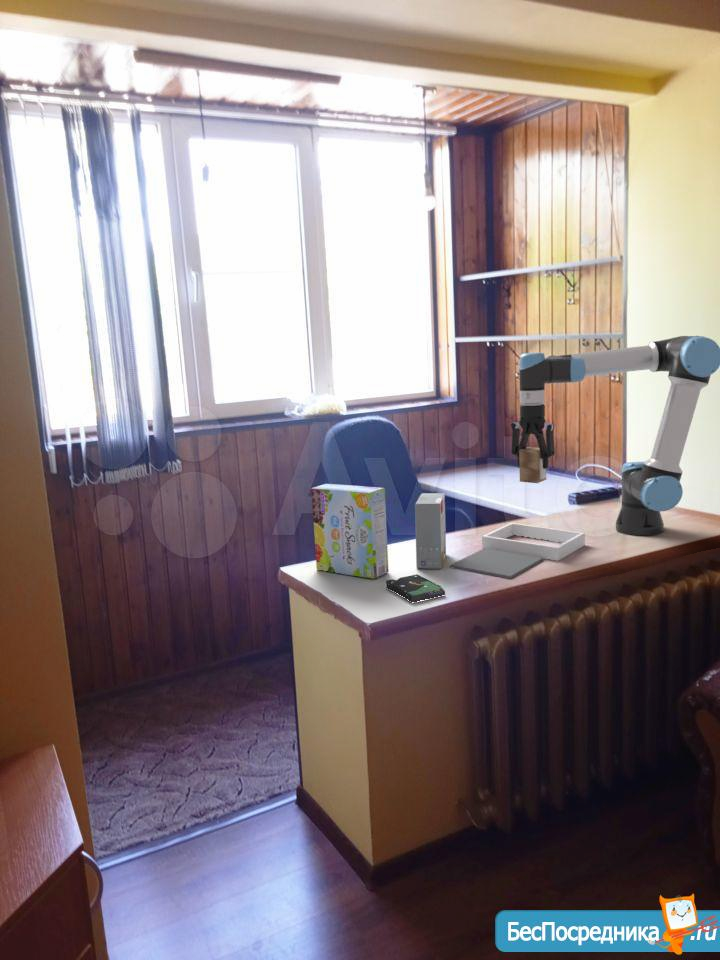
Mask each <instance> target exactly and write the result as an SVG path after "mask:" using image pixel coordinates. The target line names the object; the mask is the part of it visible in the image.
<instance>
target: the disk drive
mask: <svg viewBox="0 0 720 960" xmlns="http://www.w3.org/2000/svg"><path fill="white" fill-rule="evenodd" d="M385 586H386V589H387V588H388V589H387V590H389V589H390V590H392V591H394V592H396V593H398V594H399V595H401V596H403V597H405V598H406V599H408V600H409V601H411V602H417V601H420V600H425V599H430V598H434V597H438V596H442V595H445V596H446V590H445V589H444V587H442V586H441V585H439V584H437V583H435V582H433V581H432V580H429V579H428V578H426V577H424V576H422V575H419V574H412V575H408V576H407V575H406V576H403V577H399V578H398V579H397V580H396V579H387V580H385ZM390 590H389V591H390ZM392 591H391V592H392ZM394 592H393V593H394ZM396 593H395V594H396ZM399 595H398V596H399ZM406 599H405V600H406ZM430 600H431V599H430ZM409 601H408V602H409ZM411 602H410V603H411Z"/></svg>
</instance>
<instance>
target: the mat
mask: <svg viewBox="0 0 720 960" xmlns="http://www.w3.org/2000/svg"><path fill="white" fill-rule="evenodd" d="M543 561H544V559H543V557H537V556H531V555H525V554H518V553H512V552H506V551H500V550H494V549H488V548H481V549H480V550H477V552H474V553H472V554H470V555H468V556H466V557H464V558H460V559H459V560H457V561H455V562H453V563H451V564H450V566H449V567H450V568H451V567H454V568H453V569H456V568H458V569H457V570H461V569H462V570H463V571H467V572H474V573H479V574H483V575H488V576H492V577H493V576H494V577H499V578H503V577H504V578H503V579H510V580H511V579H512V578H515V577H516V576H518V575H520V574H521V573H523V572H525V571H527V570H528V569H530V568H532V567H534V566H535V565H537V564H539V563H541V562H543Z"/></svg>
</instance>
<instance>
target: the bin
mask: <svg viewBox="0 0 720 960" xmlns="http://www.w3.org/2000/svg"><path fill="white" fill-rule="evenodd" d="M514 535H516V537H521V536H524V537H523V538H527V537H530V538H529V539H534V538H536V539H535V540H541V539H543V540H542V541H547V540H549V542H556V543H560V544H558V545H557V546H554V545H548V544H542V543H541V544H540V543H535V542H530V541H529V542H528V541H521V540H515V539H509V537H512V536H514ZM585 539H586V534H585V532H581V531H573V530H566V529H558V528H553V527H552V528H551V527H543V526H537V525H531V524H530V525H529V524H523V523H518V522H517V523H515V522H510V523H508V524H506V525H503V526H501V527H498V528H496V529H495V530H493V531H491V532H488V533H486V534H484V535H482V536H481V549H484V548H488V549H494V550H500V551H506V552H512V553H518V554H525V555H531V556H537V557H543V560H544V559H545V560H549V559H550V561H551V560H552V561H555V560H556V562H557V561H560V560H562V559H564V558H565V557H567V556H568V555H570V554H572V553H575V551H577V550H579V549H581V548H583V546H585V544H586V543H585V542H586V540H585Z"/></svg>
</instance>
